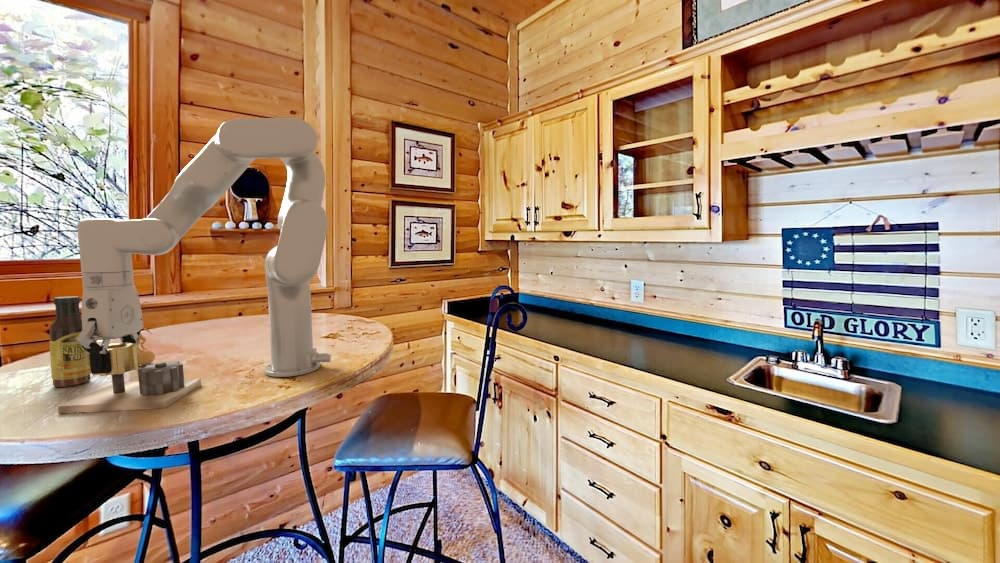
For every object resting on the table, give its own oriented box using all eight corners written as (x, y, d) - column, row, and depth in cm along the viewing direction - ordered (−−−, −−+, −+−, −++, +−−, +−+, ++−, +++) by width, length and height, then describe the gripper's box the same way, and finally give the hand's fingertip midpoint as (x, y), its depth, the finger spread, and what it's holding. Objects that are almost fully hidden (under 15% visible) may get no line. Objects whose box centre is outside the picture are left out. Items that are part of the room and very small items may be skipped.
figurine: (139, 370, 105) (135, 323, 103) (115, 369, 105) (111, 322, 103) (165, 360, 113) (162, 316, 112) (143, 360, 113) (139, 316, 112)
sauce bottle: (67, 389, 91) (57, 299, 89) (44, 387, 92) (34, 298, 90) (100, 379, 98) (92, 295, 95) (79, 377, 99) (70, 294, 97)
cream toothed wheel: (148, 364, 89) (146, 341, 89) (123, 375, 82) (121, 350, 82) (109, 365, 88) (107, 342, 88) (81, 377, 81) (79, 352, 81)
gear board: (201, 384, 94) (198, 354, 94) (165, 407, 82) (162, 372, 81) (110, 389, 91) (107, 357, 91) (58, 414, 79) (54, 377, 78)
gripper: (96, 285, 75) (104, 380, 77) (157, 276, 93) (163, 354, 94) (47, 285, 74) (57, 382, 76) (119, 276, 91) (125, 355, 93)
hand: (116, 366), depth 85 cm, fingers closed on cream toothed wheel, 7 cm apart
